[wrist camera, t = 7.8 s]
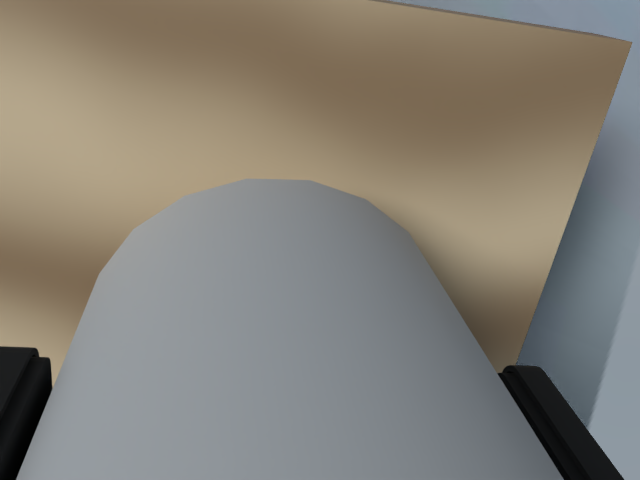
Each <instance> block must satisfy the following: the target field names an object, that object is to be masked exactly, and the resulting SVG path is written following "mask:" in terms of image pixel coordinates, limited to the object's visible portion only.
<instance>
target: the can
mask: <svg viewBox="0 0 640 480" xmlns="http://www.w3.org/2000/svg"><path fill="white" fill-rule="evenodd" d="M16 480H564V479H563V478H562V476H561V474H560V473H559V471H558V470H557V468H556V466H555V465H554V463H553V462H552V460H551V458H550V457H549V455H548V454H547V452H546V450H545V449H544V447H543V446H542V444H541V443H540V441H539V439H538V438H537V436H536V435H535V433H534V431H533V430H532V428H531V427H530V425H529V423H528V422H527V420H526V419H525V417H524V415H523V414H522V412H521V411H520V409H519V407H518V406H517V404H516V403H515V401H514V399H513V398H512V396H511V395H510V393H509V391H508V390H507V388H506V387H505V385H504V384H503V382H502V380H501V379H500V377H499V376H498V374H497V372H496V371H495V369H494V368H493V366H492V364H491V363H490V361H489V360H488V358H487V356H486V355H485V353H484V352H483V350H482V348H481V347H480V345H479V344H478V342H477V340H476V339H475V337H474V336H473V334H472V333H471V331H470V329H469V328H468V326H467V325H466V323H465V321H464V320H463V318H462V317H461V315H460V313H459V312H458V310H457V309H456V307H455V305H454V304H453V302H452V301H451V299H450V297H449V296H448V294H447V293H446V291H445V289H444V288H443V286H442V285H441V283H440V281H439V280H438V278H437V277H436V275H435V274H434V272H433V270H432V269H431V267H430V266H429V264H428V262H427V261H426V259H425V258H424V256H423V254H422V253H421V251H420V250H419V248H418V246H417V245H416V243H415V242H414V240H413V238H412V237H411V235H410V234H409V232H408V231H406V230H405V229H404V228H403V227H401V226H400V225H399V224H397V223H396V222H395V221H394V220H392V219H391V218H390V217H388V216H387V215H386V214H384V213H383V212H382V211H381V210H379V209H378V208H377V207H375V206H374V205H373V204H372V203H370V202H369V201H368V200H366V199H364V198H361V197H358V196H355V195H352V194H349V193H346V192H343V191H340V190H337V189H335V188H332V187H329V186H326V185H323V184H320V183H317V182H314V181H311V180H285V179H243V180H240V181H236V182H232V183H229V184H225V185H222V186H218V187H214V188H211V189H207V190H203V191H200V192H196V193H193V194H189V195H185V196H184V197H182V198H180V199H179V200H177V201H176V202H174V203H173V204H171V205H170V206H168V207H167V208H165V209H164V210H162V211H160V212H159V213H157V214H156V215H154V216H153V217H151V218H150V219H148V220H147V221H145V222H144V223H142V224H141V225H139V226H137V227H136V228H134V229H133V230H132V232H131V233H130V234H129V235H128V237H127V238H126V239H125V241H124V242H123V243H122V245H121V246H120V247H119V248H118V250H117V251H116V252H115V254H114V255H113V256H112V258H111V259H110V260H109V261H108V263H107V264H106V265H105V267H104V268H103V269H102V271H101V272H100V273H99V275H98V278H97V280H96V283H95V285H94V288H93V290H92V292H91V295H90V297H89V300H88V302H87V305H86V307H85V310H84V312H83V315H82V317H81V320H80V322H79V325H78V327H77V330H76V332H75V335H74V337H73V340H72V342H71V345H70V347H69V349H68V352H67V354H66V357H65V359H64V362H63V364H62V367H61V369H60V372H59V374H58V377H57V379H56V382H55V384H54V387H53V389H52V392H51V394H50V397H49V399H48V402H47V404H46V406H45V409H44V411H43V414H42V416H41V419H40V421H39V424H38V426H37V429H36V431H35V434H34V436H33V439H32V441H31V444H30V446H29V449H28V451H27V454H26V456H25V458H24V461H23V463H22V466H21V468H20V471H19V473H18V476H17V478H16Z"/></svg>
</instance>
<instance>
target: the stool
mask: <svg viewBox="0 0 640 480" xmlns="http://www.w3.org/2000/svg"><path fill="white" fill-rule="evenodd" d="M631 45H632V42H629V41H625V40H620V39H616V38H612V37H607V36H603V35H598V34H594V33H588V32H581V31H575V30H569V29H563V28H556V27H550V26H544V25H538V24H531V23H525V22H519V21H512V20H506V19H500V18H494V17H487V16H481V15H475V14H468V13H462V12H456V11H450V10H443V9H437V8H431V7H425V6H418V5H412V4H406V3H399V2H393V1H387V0H0V346H6V347H33V348H37V350H38V352H39V357H49V358H50V361H51V372H52V389H53V387H54V384H55V382H56V379H57V377H58V374H59V372H60V369H61V367H62V364H63V362H64V359H65V357H66V354H67V352H68V349H69V347H70V345H71V342H72V340H73V337H74V335H75V332H76V330H77V327H78V325H79V322H80V320H81V317H82V315H83V312H84V310H85V307H86V305H87V302H88V300H89V297H90V295H91V292H92V290H93V288H94V285H95V283H96V280H97V278H98V275H99V273H100V272H101V271H102V269H103V268H104V267H105V265H106V264H107V263H108V261H109V260H110V259H111V258H112V256H113V255H114V254H115V252H116V251H117V250H118V248H119V247H120V246H121V245H122V243H123V242H124V241H125V239H126V238H127V237H128V235H129V234H130V233H131V232H132V230H133V229H134V228H136V227H137V226H139V225H141V224H142V223H144V222H145V221H147V220H148V219H150V218H151V217H153V216H154V215H156V214H157V213H159V212H160V211H162V210H164V209H165V208H167V207H168V206H170V205H171V204H173V203H174V202H176V201H177V200H179V199H180V198H182V197H184V196H185V195H189V194H193V193H196V192H200V191H203V190H207V189H211V188H214V187H218V186H222V185H225V184H229V183H232V182H236V181H240V180H243V179H285V180H311V181H314V182H317V183H320V184H323V185H326V186H329V187H332V188H335V189H337V190H340V191H343V192H346V193H349V194H352V195H355V196H358V197H361V198H364V199H366V200H368V201H369V202H370V203H372V204H373V205H374V206H375V207H377V208H378V209H379V210H381V211H382V212H383V213H384V214H386V215H387V216H388V217H390V218H391V219H392V220H394V221H395V222H396V223H397V224H399V225H400V226H401V227H403V228H404V229H405V230H406V231H408V232H409V234H410V235H411V237H412V238H413V240H414V242H415V243H416V245H417V246H418V248H419V250H420V251H421V253H422V254H423V256H424V258H425V259H426V261H427V262H428V264H429V266H430V267H431V269H432V270H433V272H434V274H435V275H436V277H437V278H438V280H439V281H440V283H441V285H442V286H443V288H444V289H445V291H446V293H447V294H448V296H449V297H450V299H451V301H452V302H453V304H454V305H455V307H456V309H457V310H458V312H459V313H460V315H461V317H462V318H463V320H464V321H465V323H466V325H467V326H468V328H469V329H470V331H471V333H472V334H473V336H474V337H475V339H476V340H477V342H478V344H479V345H480V347H481V348H482V350H483V352H484V353H485V355H486V356H487V358H488V360H489V361H490V363H491V364H492V366H493V368H494V369H495V371H496V372H497V373H502V371H503V369H504V368H505V367H506V366H509V365H516V362H517V360H518V357H519V354H520V351H521V349H522V346H523V343H524V340H525V338H526V335H527V332H528V329H529V326H530V324H531V321H532V318H533V315H534V313H535V310H536V307H537V304H538V302H539V299H540V296H541V293H542V291H543V288H544V285H545V282H546V280H547V277H548V274H549V271H550V269H551V266H552V263H553V260H554V257H555V255H556V252H557V249H558V246H559V244H560V241H561V238H562V235H563V233H564V230H565V227H566V224H567V222H568V219H569V216H570V213H571V211H572V208H573V205H574V202H575V200H576V197H577V194H578V191H579V188H580V186H581V183H582V180H583V177H584V175H585V172H586V169H587V166H588V164H589V161H590V158H591V155H592V153H593V150H594V147H595V144H596V142H597V139H598V136H599V133H600V131H601V128H602V125H603V122H604V120H605V117H606V114H607V111H608V108H609V106H610V103H611V100H612V97H613V95H614V92H615V89H616V86H617V84H618V81H619V78H620V75H621V73H622V70H623V67H624V64H625V62H626V59H627V56H628V53H629V51H630V48H631Z"/></svg>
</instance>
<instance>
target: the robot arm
mask: <svg viewBox="0 0 640 480" xmlns="http://www.w3.org/2000/svg"><path fill="white" fill-rule="evenodd" d="M497 374H498V376H499V377H500V379H501V380H502V382H503V384H504V385H505V387H506V388H507V390H508V391H509V393H510V395H511V396H512V398H513V399H514V401H515V403H516V404H517V406H518V407H519V409H520V411H521V412H522V414H523V415H524V417H525V419H526V420H527V422H528V423H529V425H530V427H531V428H532V430H533V431H534V433H535V435H536V436H537V438H538V439H539V441H540V443H541V444H542V446H543V447H544V449H545V450H546V452H547V454H548V455H549V457H550V458H551V460H552V462H553V463H554V465H555V466H556V468H557V470H558V471H559V473H560V474H561V476H562V478H563V479H564V480H624V479H623V477H622V476H621V475H620V473H619V472H618V471H617V469H616V468H615V467H614V465H613V464H612V462H611V461H610V460H609V458H608V457H607V456H606V454H605V453H604V452H603V450H602V449H601V448H600V446H599V445H598V444H597V442H596V441H595V440H594V438H593V437H592V436H591V434H590V433H589V431H588V430H587V429H586V427H585V426H584V425H583V423H582V422H581V421H580V419H579V418H578V417H577V415H576V414H575V412H574V411H573V410H572V408H571V407H570V406H569V404H568V403H567V402H566V400H565V399H564V398H563V396H562V395H561V394H560V392H559V391H558V390H557V388H556V387H555V385H554V384H553V383H552V381H551V380H550V379H549V377H548V376H547V375H546V373H545V372H544V371H543V370H542V369H541V368H540V367H537V366H520V365H509V366H506V367H505V368H504V369H503V371H502V373H497ZM51 392H52V372H51V361H50V358H49V357H39V352H38V350H37V348H33V347H6V346H0V480H16V478H17V476H18V473H19V471H20V468H21V466H22V463H23V461H24V458H25V456H26V454H27V451H28V449H29V446H30V444H31V441H32V439H33V436H34V434H35V431H36V429H37V426H38V424H39V421H40V419H41V416H42V414H43V411H44V409H45V406H46V404H47V402H48V399H49V397H50V394H51Z"/></svg>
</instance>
